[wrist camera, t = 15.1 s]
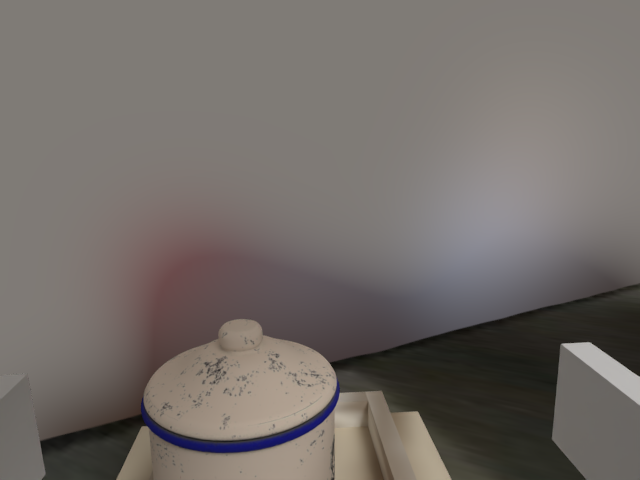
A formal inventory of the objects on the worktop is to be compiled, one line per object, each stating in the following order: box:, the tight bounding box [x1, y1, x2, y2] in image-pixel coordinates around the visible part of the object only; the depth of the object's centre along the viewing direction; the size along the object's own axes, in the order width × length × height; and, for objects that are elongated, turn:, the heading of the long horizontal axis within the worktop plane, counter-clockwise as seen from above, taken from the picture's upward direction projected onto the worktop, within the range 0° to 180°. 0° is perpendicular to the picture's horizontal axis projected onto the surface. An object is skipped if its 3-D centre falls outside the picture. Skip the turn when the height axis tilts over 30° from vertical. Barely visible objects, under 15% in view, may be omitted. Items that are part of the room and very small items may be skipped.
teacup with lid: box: [141, 319, 340, 480], centre depth 25 cm, size 12×9×12 cm
